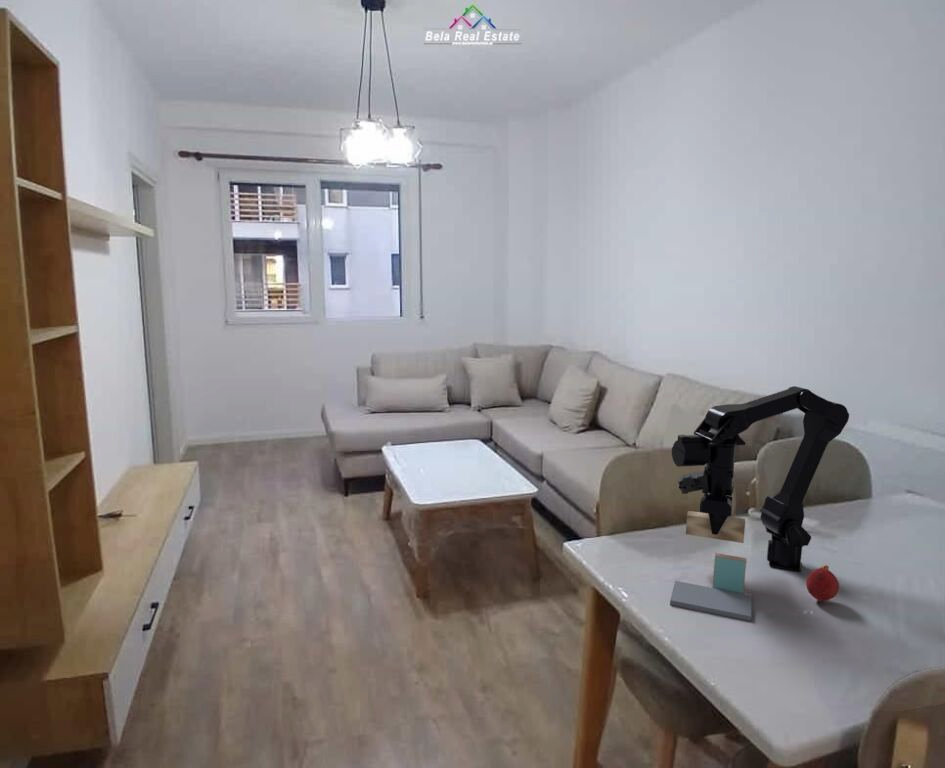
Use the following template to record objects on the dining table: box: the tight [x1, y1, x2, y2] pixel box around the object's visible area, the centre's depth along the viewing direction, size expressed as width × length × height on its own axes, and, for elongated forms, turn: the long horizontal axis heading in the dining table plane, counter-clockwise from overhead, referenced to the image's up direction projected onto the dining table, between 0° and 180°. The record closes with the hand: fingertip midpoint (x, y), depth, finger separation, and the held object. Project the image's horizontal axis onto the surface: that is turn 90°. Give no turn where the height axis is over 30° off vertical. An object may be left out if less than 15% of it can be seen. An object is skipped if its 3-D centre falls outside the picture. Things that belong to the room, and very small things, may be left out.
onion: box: [805, 564, 840, 603], centre depth 128 cm, size 6×6×8 cm
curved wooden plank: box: [685, 510, 746, 544], centre depth 140 cm, size 12×3×4 cm, turn 67°
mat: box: [669, 580, 753, 622], centre depth 128 cm, size 15×9×1 cm, turn 66°
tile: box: [712, 552, 747, 594], centre depth 131 cm, size 6×2×8 cm, turn 66°
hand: (714, 531), depth 140 cm, fingers closed on curved wooden plank, 3 cm apart
